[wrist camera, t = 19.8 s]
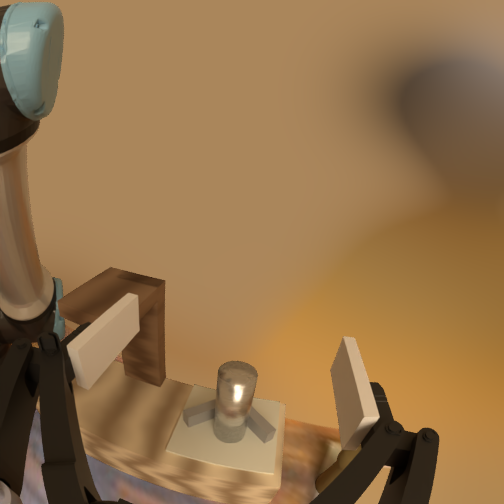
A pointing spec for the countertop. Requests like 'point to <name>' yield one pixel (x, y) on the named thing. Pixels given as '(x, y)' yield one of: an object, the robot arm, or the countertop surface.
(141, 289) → the brown wooden l bracket
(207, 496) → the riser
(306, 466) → the countertop surface
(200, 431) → the v cradle
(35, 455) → the countertop surface
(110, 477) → the countertop surface
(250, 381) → the axle
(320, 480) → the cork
